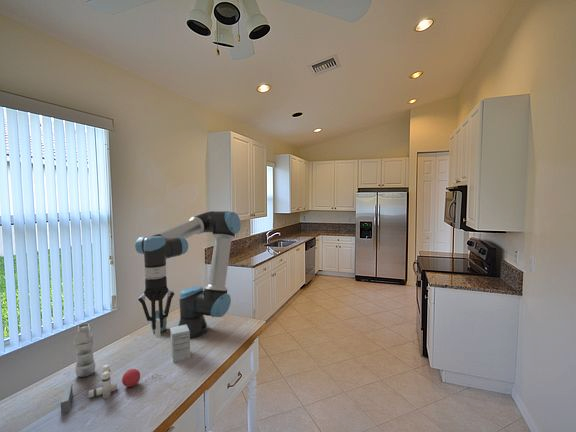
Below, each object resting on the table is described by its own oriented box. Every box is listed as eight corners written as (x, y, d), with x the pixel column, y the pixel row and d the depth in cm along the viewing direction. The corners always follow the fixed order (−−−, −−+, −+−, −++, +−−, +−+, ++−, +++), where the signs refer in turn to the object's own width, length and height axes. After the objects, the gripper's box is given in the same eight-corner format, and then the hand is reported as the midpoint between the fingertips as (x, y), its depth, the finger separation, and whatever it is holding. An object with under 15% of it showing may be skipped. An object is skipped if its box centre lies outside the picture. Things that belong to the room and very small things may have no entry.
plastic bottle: (85, 380, 111) (83, 330, 110) (71, 378, 113) (68, 328, 111) (99, 370, 118) (97, 322, 116) (85, 368, 119) (83, 321, 118)
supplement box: (170, 354, 130) (169, 327, 129) (188, 350, 133) (187, 323, 132) (172, 362, 123) (171, 334, 122) (190, 358, 126) (189, 330, 126)
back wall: (72, 394, 103) (72, 383, 103) (68, 412, 95) (68, 400, 95) (65, 396, 102) (65, 385, 102) (61, 414, 94) (60, 402, 94)
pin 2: (110, 393, 104) (109, 370, 103) (110, 397, 102) (109, 373, 101) (102, 395, 103) (101, 372, 102) (102, 399, 101) (101, 376, 100)
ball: (118, 375, 108) (129, 385, 110) (118, 384, 103) (130, 393, 105) (132, 362, 111) (143, 372, 113) (133, 370, 106) (144, 379, 108)
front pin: (116, 381, 107) (88, 389, 102) (116, 385, 105) (88, 393, 100) (116, 387, 107) (89, 395, 103) (117, 391, 105) (88, 400, 101)
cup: (169, 330, 153) (169, 312, 152) (154, 335, 147) (154, 316, 147) (163, 326, 158) (162, 308, 158) (148, 331, 152) (147, 312, 152)
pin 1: (111, 385, 108) (110, 363, 108) (110, 389, 106) (109, 366, 106) (103, 387, 107) (102, 365, 106) (103, 391, 105) (101, 368, 104)
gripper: (137, 281, 104) (139, 344, 106) (175, 276, 111) (177, 335, 112) (136, 276, 111) (138, 336, 112) (172, 272, 118) (174, 328, 119)
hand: (157, 336), depth 112 cm, fingers closed
